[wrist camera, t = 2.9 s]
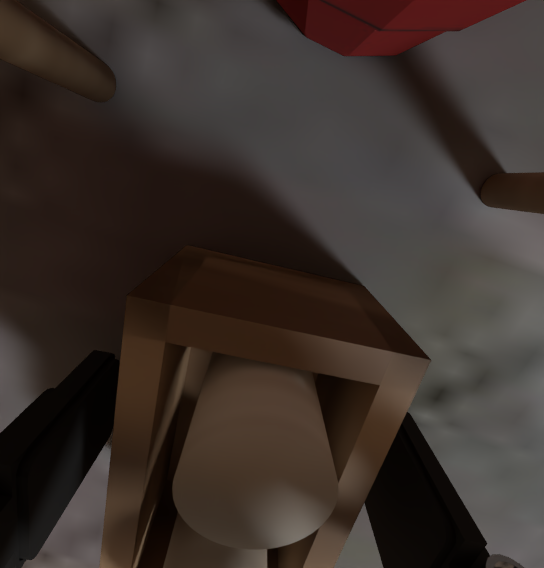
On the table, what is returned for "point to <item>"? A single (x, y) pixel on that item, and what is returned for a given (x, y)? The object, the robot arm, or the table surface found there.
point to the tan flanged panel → (101, 87)
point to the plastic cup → (385, 22)
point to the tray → (262, 334)
